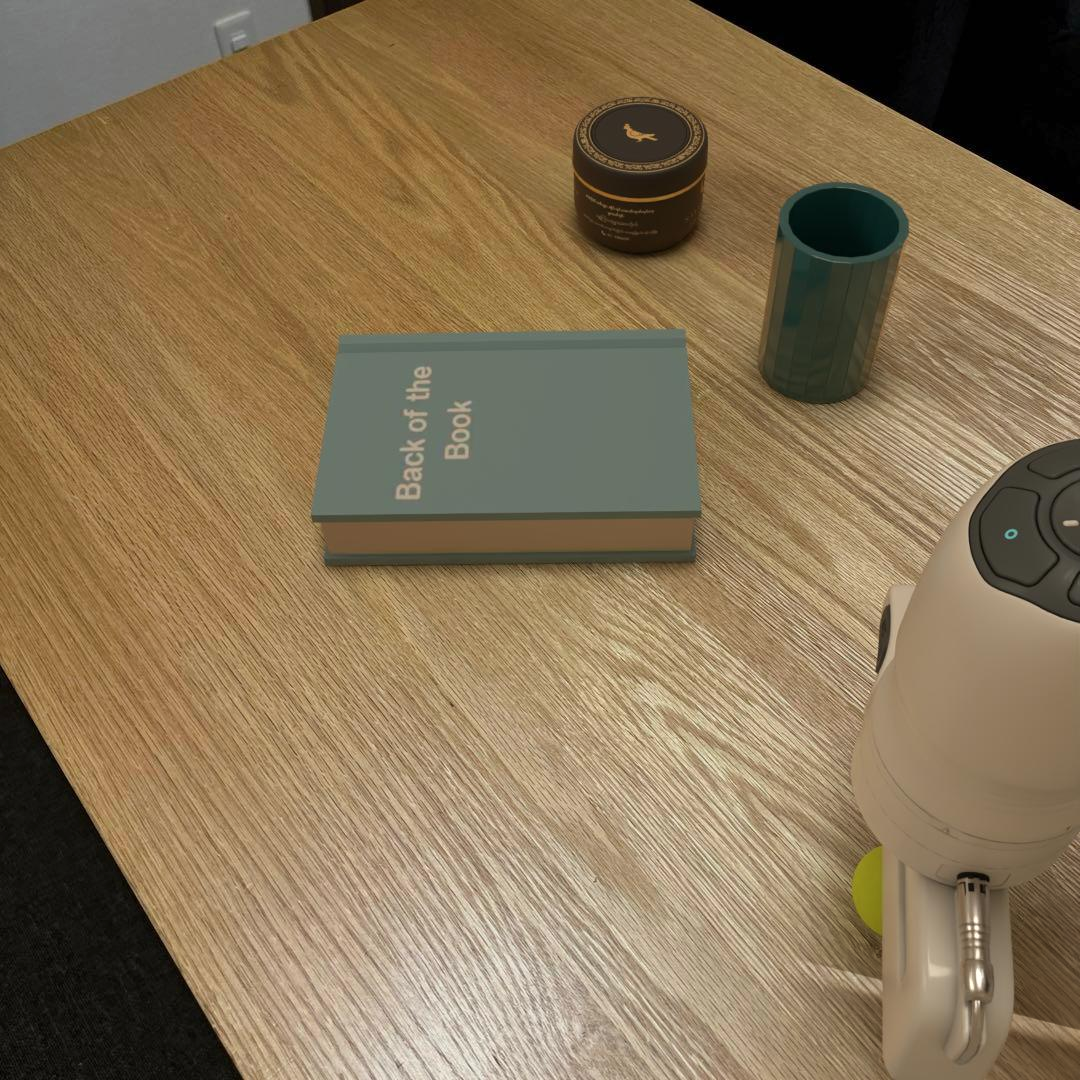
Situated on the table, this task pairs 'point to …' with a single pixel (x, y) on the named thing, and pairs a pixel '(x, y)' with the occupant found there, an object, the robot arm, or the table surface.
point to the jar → (639, 173)
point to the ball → (869, 889)
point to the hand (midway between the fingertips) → (898, 895)
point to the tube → (830, 290)
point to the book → (509, 449)
